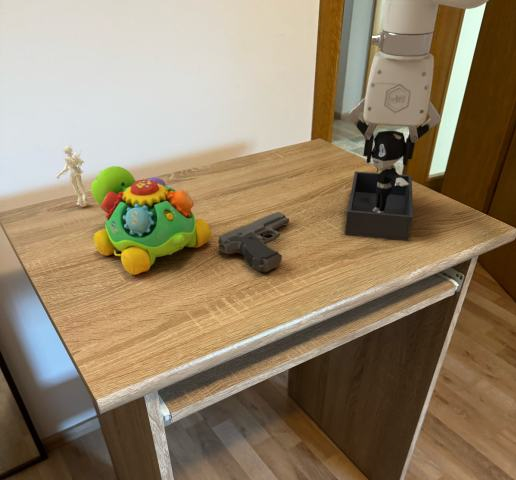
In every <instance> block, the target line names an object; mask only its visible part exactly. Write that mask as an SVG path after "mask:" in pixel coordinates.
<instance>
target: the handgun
mask: <svg viewBox="0 0 516 480" xmlns="http://www.w3.org/2000/svg"><path fill="white" fill-rule="evenodd" d="M288 223H290V218H289V217H287V216H286V214H284V213H281V212H279V211H277V212H275V213H271V214H269V215H266V216H263V217H261V218H260V219H257V220H254V221H253V222H250V223H249V224H246V225H242V226H239V227H237V228H235V229H233V230H230V231H228V232H225V233H223V234H221V235H218V249H219V250H220V251H221V253H222V254H223V253H225V254H227V255H229V254H231V255H232V254H236V253H237V254H240V255H243V258H244V261H246V263H247V264H248V265H249V266H250V267H252V268H253V270H256V271H257V272H261V273H268V272H269V271H271V270H272V271H273V270H274V269H276V268H277V267H279V266H280V265H281V263H282V259H283V255H282V254H281V253H280V252H279V251H276V250H274V249H272V248H270V247H269V246H268V245H267V244H269V243H272V242H274V241H276V239H278V238H279V237H280V236H281V233H280V231H277V229H279V228H281V227H283V226H284V225H286V224H288ZM267 235H272V236H271V237H266V236H267Z"/></svg>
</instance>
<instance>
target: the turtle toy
mask: <svg viewBox="0 0 516 480" xmlns="http://www.w3.org/2000/svg"><path fill="white" fill-rule="evenodd" d="M90 192H91V194H92V197H93V199H94V201H95V202H96V203H97V204H98V205H99V206H100V208H101V210H102V211H104V212H105V213H107V214H106V215H105V218H106V222H105V225H104V227H105V228H103V229H101V230H98V231H96V232H95V233H94V235H93V243H94V245H95V247H96V249H97V251H98V252H99V253H100V254H101V255H102V256H110V255H111V256H112V255H113V254H114V256H116V257H120V261H121V264H122V267H123V268H124V269H125V271H126V272H127V273H128V274H130V275H139V274H141V273H145V272H148V271H149V270H150V268H151V266H153V265H154V263H155V262H156V258H158V257H164V256H167V255H168V256H171V255H173V253H177V252H178V251H180V250H183V249H184V247H187V248H195V249H197V248H200V247H202V246H203V245H205V244H207V243H209V242H210V240H211V238H212V230H211V228H210V225H209V224H208V222H206V221H205V220H204V219H201V218H199V219H198V218H197V219H196V216H195V213H193V212H192V208H193V207H194V204H195V203H194V200H193V198H192V197H191V195H190V194H189V193H188V192H187V191H185V190H181V189H180V190H179V191H177V190H176V189H174V188H173V187H171V186H167V185H166V182H165V181H164V180H163V179H161V178H159V177H149V178H148V179H141V180H136V179H135V177H134V175H133V174H132V173H131V172H130V171H129V170H128V169H126V168H124V167H122V166H119V165H118V166H115V165H113V166H108V167H106V168H105V169H103V170H101V171H100V172H99V173H98V175H97V177H96V178H95V179H94V180H93V181H92V183H91V185H90ZM118 252H121V253H118Z"/></svg>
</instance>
